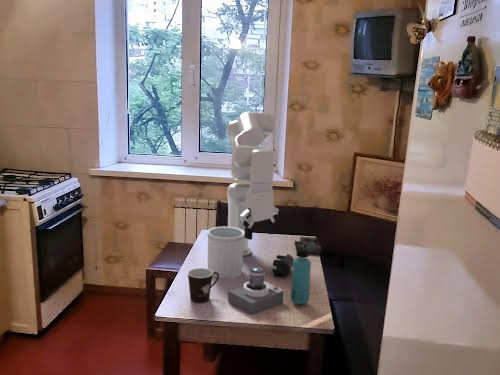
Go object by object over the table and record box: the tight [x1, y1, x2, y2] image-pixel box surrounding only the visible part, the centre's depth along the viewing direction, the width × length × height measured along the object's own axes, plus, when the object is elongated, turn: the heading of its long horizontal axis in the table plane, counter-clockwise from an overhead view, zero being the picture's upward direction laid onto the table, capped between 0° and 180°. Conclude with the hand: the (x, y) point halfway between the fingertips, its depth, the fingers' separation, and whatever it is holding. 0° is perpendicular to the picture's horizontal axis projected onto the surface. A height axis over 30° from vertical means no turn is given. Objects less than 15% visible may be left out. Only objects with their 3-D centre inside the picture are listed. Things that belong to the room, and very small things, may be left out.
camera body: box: [227, 280, 285, 315], centre depth 157 cm, size 12×15×6 cm
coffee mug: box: [187, 267, 220, 304], centre depth 157 cm, size 12×9×10 cm
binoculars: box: [294, 236, 322, 255], centre depth 215 cm, size 11×16×6 cm
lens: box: [248, 266, 266, 290], centre depth 156 cm, size 5×5×8 cm
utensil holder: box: [206, 225, 245, 279], centre depth 180 cm, size 15×15×18 cm
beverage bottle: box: [290, 248, 312, 305], centre depth 155 cm, size 6×7×20 cm
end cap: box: [272, 253, 295, 278], centre depth 184 cm, size 10×7×7 cm
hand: (258, 236), depth 153 cm, fingers open, 9 cm apart
